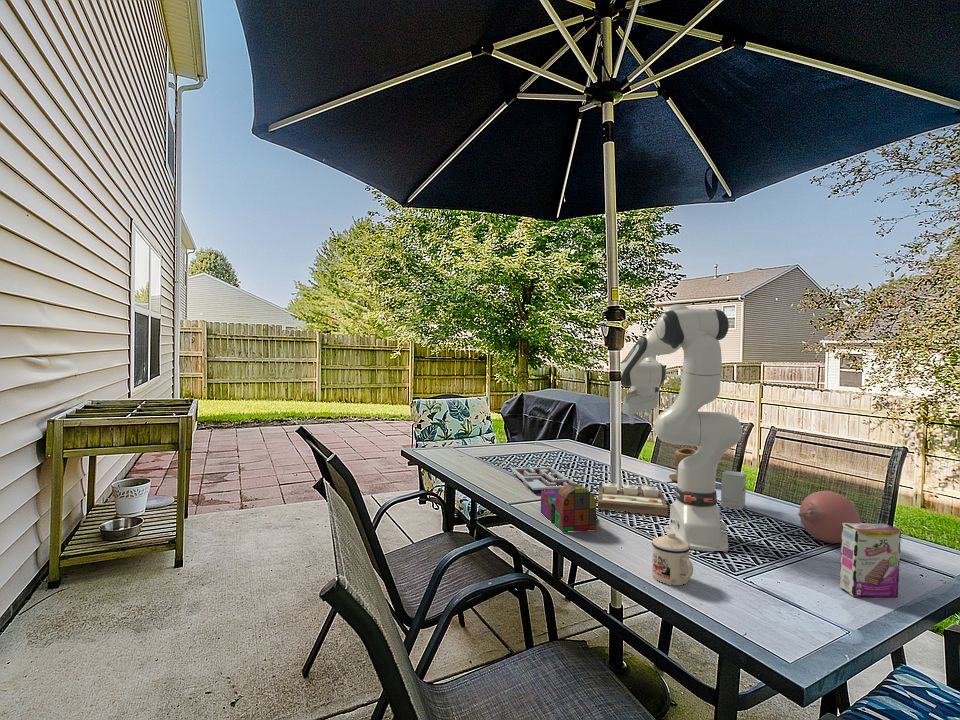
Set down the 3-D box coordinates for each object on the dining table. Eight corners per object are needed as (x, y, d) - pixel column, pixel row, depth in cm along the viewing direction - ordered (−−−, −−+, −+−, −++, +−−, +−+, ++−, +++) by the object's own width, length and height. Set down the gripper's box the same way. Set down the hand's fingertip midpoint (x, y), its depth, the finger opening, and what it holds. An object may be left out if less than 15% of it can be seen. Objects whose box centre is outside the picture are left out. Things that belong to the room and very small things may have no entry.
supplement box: (742, 510, 185) (742, 476, 184) (720, 506, 189) (720, 473, 189) (745, 505, 191) (746, 472, 190) (724, 502, 195) (725, 469, 195)
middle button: (637, 496, 192) (637, 488, 192) (623, 495, 193) (624, 487, 193) (636, 493, 197) (636, 485, 197) (623, 492, 198) (623, 484, 198)
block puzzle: (611, 530, 163) (611, 486, 163) (562, 533, 159) (563, 489, 159) (578, 506, 187) (578, 468, 187) (535, 509, 183) (535, 470, 183)
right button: (658, 498, 190) (658, 490, 190) (644, 497, 191) (644, 488, 191) (656, 494, 195) (657, 486, 195) (643, 493, 196) (643, 485, 196)
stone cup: (679, 485, 219) (680, 451, 219) (665, 478, 231) (666, 446, 230) (711, 484, 221) (712, 450, 221) (695, 478, 233) (696, 445, 233)
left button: (617, 494, 194) (617, 486, 194) (603, 493, 195) (604, 485, 195) (617, 491, 199) (617, 483, 199) (604, 490, 200) (604, 482, 200)
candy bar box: (854, 598, 118) (856, 529, 118) (838, 588, 124) (840, 522, 123) (900, 598, 119) (902, 529, 119) (882, 588, 124) (884, 522, 124)
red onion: (775, 535, 159) (776, 487, 159) (824, 530, 164) (825, 484, 164) (819, 554, 144) (821, 501, 144) (872, 548, 150) (873, 497, 149)
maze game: (511, 474, 236) (511, 468, 236) (550, 473, 239) (550, 466, 239) (533, 495, 201) (533, 487, 201) (579, 493, 205) (579, 486, 205)
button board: (667, 516, 177) (668, 506, 177) (598, 510, 182) (598, 500, 182) (661, 499, 198) (661, 490, 198) (598, 493, 204) (599, 485, 204)
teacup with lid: (643, 573, 130) (644, 528, 130) (672, 568, 134) (673, 525, 133) (676, 594, 119) (677, 545, 119) (706, 589, 122) (707, 541, 122)
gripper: (633, 394, 197) (630, 427, 199) (662, 387, 209) (659, 419, 212) (619, 390, 202) (617, 423, 204) (649, 384, 214) (646, 415, 217)
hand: (638, 421), depth 208 cm, fingers open, 8 cm apart
